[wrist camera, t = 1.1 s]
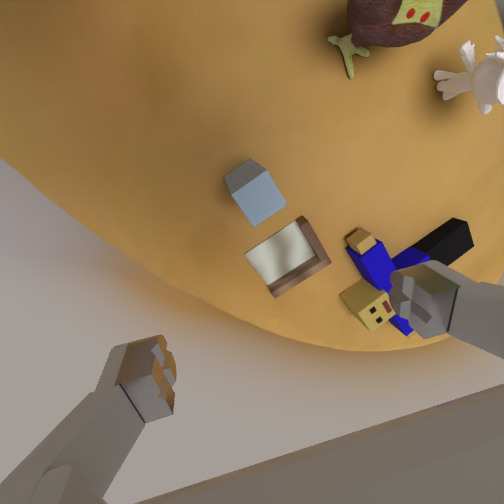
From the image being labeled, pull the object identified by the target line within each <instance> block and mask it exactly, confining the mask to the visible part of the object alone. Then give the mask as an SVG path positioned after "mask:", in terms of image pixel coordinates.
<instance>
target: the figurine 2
mask: <svg viewBox="0 0 504 504" xmlns="http://www.w3.org/2000/svg"><path fill="white" fill-rule="evenodd" d="M495 42H496V43H497V45H498V46H500V49H498V50H496V51H494V52H493V53H487V54H486V58H485V59H483V60H482V61H481V62H480V63H479V64H478V65H477V67H476V63H475V56H474V49H473V48H474V46H475V44H470V40H468V41H466V42H465V43H464V44H462V45H461V47H460V48H459V49H458V50H459V52H460V54H461V56H460V57H461V59H462V61H463V63H464V65H465V67H466V69H467V70H468V71H466V72H462V73H457V74H455V73H453V72H447V71H441V70H438V71H435V73H434V79H435V80H437V81H439V80H444V79H449V80H447V81H441V82H439V83H438V85H437V90H438V91H443V92H444V93H443V100H444V101H446V100H449V99H450V98H452V97H454V96H456V95H458V94H459V93H462V92H470V91H472V93H473V95H474V97H475V99H476V100H477V102H478V107H479V109H480V110H481V114H482V115H485V114H487V113H489V112H490V110H492V107H491V104H494V103H500V104H501V105H503V106H504V39H502V38H500V37H499V36H495Z"/></svg>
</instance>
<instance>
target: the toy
mask: <svg viewBox="0 0 504 504" xmlns="http://www.w3.org/2000/svg"><path fill="white" fill-rule="evenodd" d="M346 241H347V242H348V244H349V247H348V248H346V250H347V251H348V253H349V255H350V256H351V258H352V260H353V261H354V263H355V265H356V266H357V268H358V269H359V271H360V273H361V274H362V276H363V278H362V279H361V280H359V281H358V282H356V283H355V284H353V285H352V286H350V287H349V288H347V289H346V290H345V291H344V292H342V293H341V294H340V297H341V298H342V300H343V301H344V302H345V304H346V305H347V307H348V308H349V310H350V311H351V312H352V314H353V315H354V316H355V317H356V318H357V319H358V320H359V321H360V322H361V323H362V324H363V325H364V326H365V327H366V328H367V329H368V330H369V331H370V332H372V331H374V330H375V329H376V328H378V327H379V326H380V325H382V324H383V323H384V322H386V321H387V320H389V321H390V322H391V323H392V324H393V325H394V326H395V327H396V328H397V329H398V330H400V331H401V332H402V333H403V334H404V335H405V336H408V337H409V338H410V337H412V336H413V335H414V334H416V333H417V332H416V331H414V330H413V329H412V328H411V327H410V326H409V320H407V319H405V318H402V317H399V316H398V315H397V314H396V313H395V312H394V310H393V309H392V307H391V305H390V302H389V291H390V290H391V288H392V287H393V285H392V284H391V283H390V275H391V273H392V272H393V271H397V270H400V269H404V268H408V267H411V266H415V265H418V264H421V263H424V262H427V261H431V260H435V261H439V262H440V263H442V264H444V265H446V266H448V265H450V264H451V263H452V262H454V261H455V260H456V259H458V258H459V257H460V256H462V255H463V254H464V253H466V252H467V251H468V250H470V249H471V248H472V247H474V244H473V240H472V237H471V233H470V230H469V226H468V223H467V222H466V221H463V220H459V219H456V218H452V219H450V220H449V221H447V222H446V223H444V224H443V225H441V226H440V227H438V228H437V229H435V230H434V231H432V232H431V233H430V234H428V235H427V236H426V237H424V238H423V239H422V240H420V241H419V242H418V243H416V244H415V245H414V246H413V247H408V248H407V249H405V250H404V251H402V252H401V253H399V254H398V255H397V256H395V257H394V258H393V259H390V257H389V255H388V253H387V251H386V249H385V247H384V245H383V243H382V242H381V241H379V240H377V239H375V238H374V237H373V235H372V234H371V233H369V232H367V231H365V230H363V229H361V228H360V229H358V230H357V231H356V232H355V233H353V234H352V235H351V236H349V237H348V238H347V239H346Z"/></svg>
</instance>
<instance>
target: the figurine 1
mask: <svg viewBox="0 0 504 504" xmlns="http://www.w3.org/2000/svg"><path fill="white" fill-rule="evenodd" d="M466 1H468V0H348V7H347V23H348V27H349V29H350V31H351V34H349V35H346V36H344V37H342V38H339V37H337V36H330V37H329V38H328V39H327V40H328V41H329V42H331V43H332V44H334V45H338V46H339V48H340V50H341V51H342V53H343V56H344V60H345V64H346V67H347V71H348V75H349V77H350V79H352V78H353V77H354V71H355V70H354V66H353V61H352V57H351V56H352V55H353V54H354V53H356V54H358V55H360V56H362V57H369V55H370V53H369V51H368V49H365V48H363V46H367V45H376V46H381V47H400V46H405V45H409V44H411V43H415V42H418V41H421V40H422V39H424V38H426V37H427V36H429V35H430V34H431V33H432V32H433V31H434V30H435V29H436V28H438V27H439V26H440V25H441V24H443V23H444V22H445V21H446V20H447V19H448V18H450V17H451V16H452V15H453V14H454V13H455V12H456V11H457V10H458V9H459V8H460V7H461V6H462V5H463V4H464V3H465V2H466Z"/></svg>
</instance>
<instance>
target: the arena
mask: <svg viewBox="0 0 504 504" xmlns="http://www.w3.org/2000/svg"><path fill="white" fill-rule="evenodd" d="M244 255H245V256H246V258H247V259H248V260H249V262H250V263H251V264H252V266H253V267H254V268H255V269H256V271H257V272H258V273H259V275H260V276H261V277H262V279H263V280H264V281H265V282H266V284H267V285H268V287H269V290H270V292H271V294H272V295H273V296H274V298H277V297H278V296H280V295H281V294H283V293H285V292H286V291H288V290H289V289H291V288H292V287H294V286H296V285H297V284H299V283H300V282H302V281H304V280H305V279H307V278H308V277H310V276H311V275H313V274H315V273H316V272H318V271H319V270H321V269H323V268H324V267H326V266H327V265H329V264H330V263H332V262H331V260H330V259H329V257H328V255H327V253H326V252H325V250H324V248H323V246H322V244H321V243H320V241H319V239H318V237H317V236H316V234H315V232H314V230H313V229H312V227H311V225H310V223H309V222H308V220H307V219H305V218H304V217H303V216H301V217H299V218H297V219H296V220H294V221H293V222H291V223H290V224H288V225H287V226H285V227H284V228H282V229H281V230H279V231H278V232H276V233H275V234H273V235H272V236H270V237H269V238H267V239H266V240H264V241H263V242H261V243H260V244H258V245H257V246H255V247H254V248H252V249H251V250H249V251H248V252H246V253H245V254H244Z"/></svg>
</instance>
